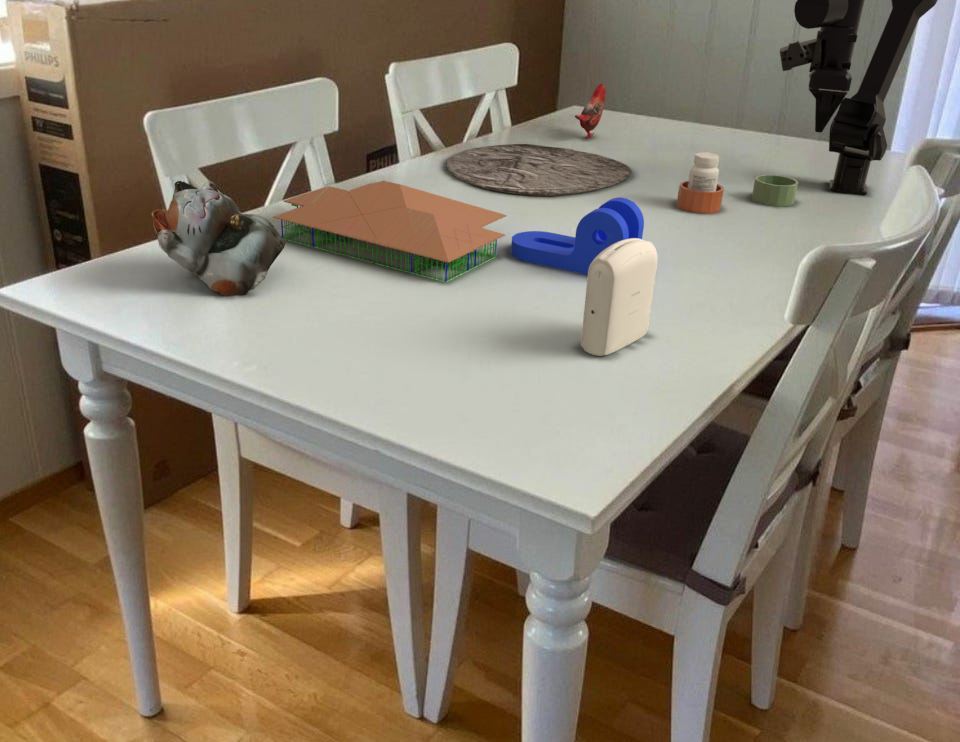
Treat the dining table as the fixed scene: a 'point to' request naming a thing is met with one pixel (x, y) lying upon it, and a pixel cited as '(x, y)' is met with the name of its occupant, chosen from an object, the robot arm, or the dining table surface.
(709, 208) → the terracotta cup
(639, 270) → the photo printer
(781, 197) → the green cup
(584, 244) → the bracket
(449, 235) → the house
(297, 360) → the dining table surface
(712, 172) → the pill bottle
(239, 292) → the lucky cat figurine
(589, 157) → the worn metal disc
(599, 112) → the decorative bird figurine
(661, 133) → the dining table surface
